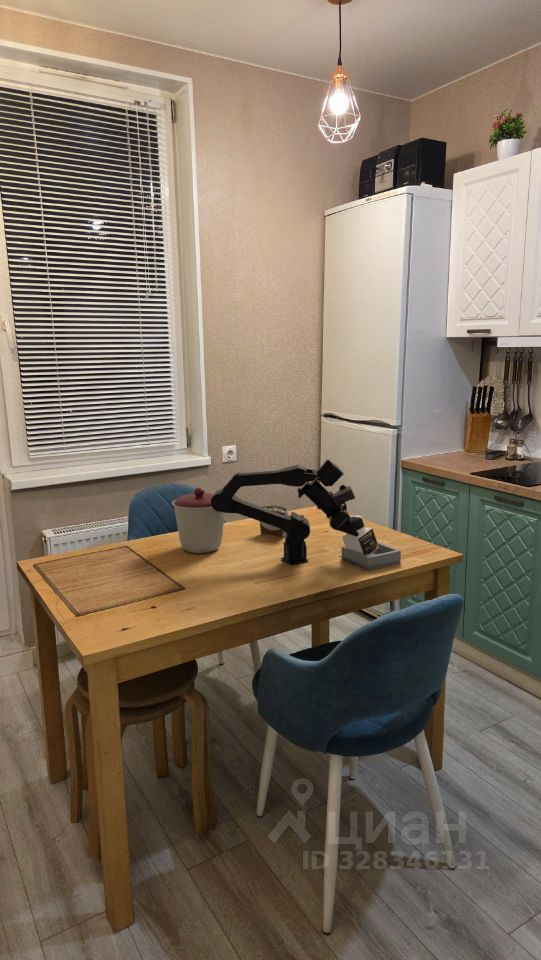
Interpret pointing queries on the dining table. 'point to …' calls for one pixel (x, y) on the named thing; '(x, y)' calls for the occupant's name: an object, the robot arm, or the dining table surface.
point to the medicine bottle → (361, 538)
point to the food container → (270, 529)
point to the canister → (198, 522)
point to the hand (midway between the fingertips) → (356, 531)
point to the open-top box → (373, 557)
